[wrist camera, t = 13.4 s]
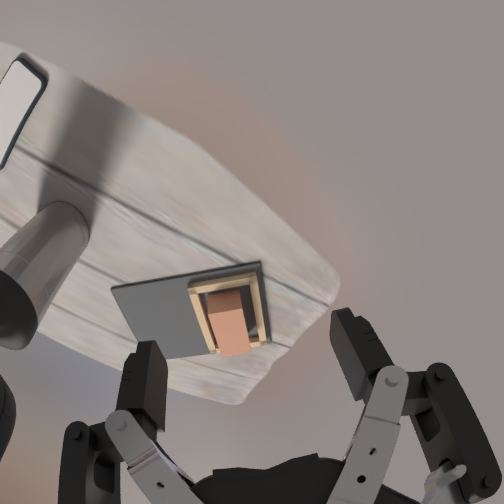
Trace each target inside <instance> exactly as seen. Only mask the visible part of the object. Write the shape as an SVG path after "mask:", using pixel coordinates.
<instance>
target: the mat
mask: <svg viewBox="0 0 504 504" xmlns="http://www.w3.org/2000/svg"><path fill="white" fill-rule="evenodd" d="M238 289H239V291H240V296H241V301H242V305H243V310H244V315H245V319H246V324H247V329H248V333H249V339H250V345H251V347H256V346H261V345H266V344H270V343H271V340H270V333H269V326H268V318H267V311H266V304H265V297H264V290H263V282H262V275H261V268H260V262H257V263H252V264H247V265H241V266H236V267H230V268H225V269H219V270H214V271H208V272H202V273H197V274H191V275H185V276H180V277H174V278H168V279H163V280H157V281H151V282H145V283H140V284H134V285H128V286H122V287H116V288H111V292H112V294H113V296H114V298H115V300H116V302H117V304H118V306H119V308H120V310H121V312H122V314H123V316H124V318H125V320H126V321H127V323H128V325H129V327H130V329H131V331H132V332H133V334H134V336H135V338H136V339H137V341H138V342H139V341H148V340H155V341H156V342H157V344H158V346H159V348H160V350H161V352H162V354H163V356H164V358H165V359H173V358H182V357H190V356H197V355H205V354H214V353H221V352H220V350H219V347H218V344H217V341H216V338H215V335H214V332H213V329H212V326H211V323H210V320H209V317H208V296H207V295H210V294H216V293H222V292H227V291H233V290H238Z"/></svg>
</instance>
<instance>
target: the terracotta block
mask: <svg viewBox="0 0 504 504" xmlns="http://www.w3.org/2000/svg"><path fill="white" fill-rule="evenodd" d="M207 296H208V317H209V320H210V323H211V326H212V329H213V332H214V335H215V338H216V341H217V344H218V347H219V350H220V352H221V355H222V357H224V356H231V355H237V354H242V353H248V352H252V351H251V345H250V339H249V333H248V329H247V324H246V319H245V315H244V310H243V305H242V301H241V296H240V291H239V289H238V290H233V291H227V292H222V293H216V294H210V295H207Z"/></svg>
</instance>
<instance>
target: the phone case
mask: <svg viewBox="0 0 504 504" xmlns="http://www.w3.org/2000/svg"><path fill="white" fill-rule="evenodd" d="M46 87H47V80H46V78H45V77H44V76H43V75H42V74H41V73H39V72H38V71H37V70H36V69H35V68H34V67H33V66H31V65H30V64H29V63H28V62H27V61H26V60H25V59H23V58H17V59H15V60H14V61H13V62H12V64H11V65H10V67H9V69H8V70H7V72H6V74H5V75H4V77H3V79H2V81H1V82H0V170H1V169H3V168H4V166H5V164H6V162H7V159H8V157H9V155H10V153H11V151H12V149H13V146H14V144H15V142H16V140H17V138H18V136H19V134H20V132H21V130H22V129H23V127H24V125H25V123H26V121H27V119H28V117H29V116H30V114H31V112H32V110H33V109H34V107H35V105H36V104H37V102H38V100H39V99H40V97H41V95H42V94H43V92H44V91H45V89H46Z"/></svg>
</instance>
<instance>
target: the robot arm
mask: <svg viewBox="0 0 504 504" xmlns="http://www.w3.org/2000/svg"><path fill="white" fill-rule="evenodd" d="M88 240H89V231H88V227H87V223H86V221H85V219H84V217H83V216H82V215H81V213H80V212H79V211H78V210H77V209H76V208H75V207H73V206H72V205H70V204H67V203H65V202H54V203H51V204H49V205H48V206H46V207H45V208H44V209H43V210H41V211H40V212H39V213H38V214H37V215H36V216H34V217H33V218H32V219H31V220H30V221H29V222H27V223H26V224H25V225H24V226H23V227H22V228H21V229H20V230H19V231H18V232H17V233H16V234H14V235H13V236H12V237H11V238H10V239H9V240H8V241H7V242H6V243H5V244H4V245H3V246H2V247H1V248H0V346H2V347H4V348H7V349H11V350H21V349H24V348H25V347H26V346H27V345H28V344H29V343H30V341H31V339H32V338H33V336H34V334H35V332H36V330H37V328H38V326H39V324H40V322H41V320H42V319H43V317H44V315H45V313H46V311H47V309H48V307H49V306H50V304H51V302H52V300H53V299H54V297H55V295H56V294H57V292H58V290H59V289H60V287H61V285H62V284H63V282H64V281H65V279H66V277H67V276H68V274H69V273H70V271H71V269H72V268H73V266H74V265H75V263H76V262H77V260H78V259H79V257H80V256H81V254H82V253H83V251H84V250H85V248H86V247H87V244H88ZM330 341H331V345H332V347H333V350H334V352H335V354H336V356H337V359H338V361H339V364H340V366H341V368H342V371H343V373H344V375H345V378H346V380H347V382H348V385H349V387H350V390H351V392H352V394H353V397H354V399H355V401H358V400H361V399H363V401H364V403H365V406H364V409H363V412H362V414H361V417H360V420H359V423H358V425H357V428H356V430H355V433H354V435H353V438H352V440H351V443H350V444H349V447H348V449H347V451H346V453H345V455H344V458H343V460H342V461H340V460H336V459H331V458H319V457H318V454H317V453H315V454H311V455H307V456H302V457H298V458H293V459H290V460H288V461H286V462H284V463H281V464H279V465H277V466H274V467H272V468H269V469H266V470H261V469H248V468H239V467H238V468H227V469H215V470H213V475H210V476H208V477H206V478H203V479H202V480H200V481H198V482H197V483H195V482H194V481H193V480H192V479H191V478H190V477H189V476H188V475H187V474H186V473H185V472H184V471H183V470H182V469H181V468H180V467H179V466H178V465H177V464H176V463H175V461H174V460H173V459H172V458H171V457H170V456H169V455H168V453H167V452H166V451H165V450H164V449H163V447H162V446H161V445H160V443H159V442H158V441H157V440H156V439H157V432H165V411H166V394H167V379H168V366H167V362H166V360H165V358H164V356H163V354H162V352H161V350H160V348H159V346H158V344H157V342H156V341H155V340H148V341H139V342H138V345H137V350H136V353H130V355H129V356H128V358H127V359H126V361H125V363H124V368H123V374H122V378H121V380H122V381H121V383H120V388H119V394H118V399H117V405H116V410H115V411H114V412H112V413H111V414H110V415H109V416H108V417H107V419H106V421H105V422H102V423H98V424H95V425H91V426H87V425H86V424H85V423H83V422H80V421H75V422H73V423H71V424H70V425H69V426H68V427H67V428H66V430H65V434H64V441H63V449H62V456H61V466H60V476H59V491H58V504H121V501H120V500H121V499H120V462H123V461H125V462H126V463H127V465H128V468H127V470H128V472H129V474H130V475H131V477H132V478H133V480H134V481H135V483H136V484H137V485H138V487H139V488H140V489H141V491H142V492H143V493H144V495H145V496H146V497H147V498H148V500H149V501H150V502H151V503H152V504H474V503H477V502H479V501H481V500H484V499H486V498H488V497H491V496H492V495H494V494H495V493H496V492H497V490H498V489H499V487H500V485H501V481H502V474H501V471H500V468H499V466H498V463H497V460H496V458H495V456H494V453H493V451H492V448H491V446H490V444H489V442H488V439H487V437H486V435H485V432H484V430H483V428H482V426H481V424H480V422H479V420H478V418H477V416H476V414H475V412H474V410H473V408H472V406H471V404H470V402H469V400H468V398H467V396H466V394H465V392H464V390H463V388H462V387H461V385H460V383H459V381H458V379H457V378H456V376H455V374H454V372H453V371H452V369H451V368H450V367H449V366H448V365H446V364H444V363H434V364H432V365H430V366H429V367H428V369H427V371H420V372H405V370H404V369H402V368H400V367H398V366H395V365H394V364H393V362H392V360H391V358H390V357H389V355H388V353H387V351H386V350H385V348H384V346H383V345H382V343H381V341H380V340H379V339H378V336H377V334H376V333H375V332H374V329H373V328H372V326H371V324H370V323H369V322H368V321H367V320H366V319H364V318H363V317H362V316H358V317H354V315H353V314H352V312H351V310H350V309H349V308H348V307H347V308H343V309H339V310H334V311H332V314H331V324H330ZM405 415H409V416H410V418H411V421H412V423H413V426H414V428H415V431H416V434H417V436H418V439H419V441H420V444H421V447H422V449H423V452H424V455H425V458H426V460H427V463H428V466H429V469H430V472H431V473H430V474H429V475H428V477H427V478H426V480H425V484H424V488H425V496H424V499H423V501H422V502H421V503H419V502H418V501H416V500H414V499H411V498H409V497H407V496H405V495H403V494H401V493H399V492H397V491H395V490H393V489H391V488H389V487H387V486H385V485H384V484H382V482H383V479H384V477H385V474H386V471H387V469H388V466H389V463H390V460H391V457H392V454H393V451H394V448H395V445H396V442H397V438H398V435H399V431H400V424H399V420H400V417H401V416H405ZM15 419H16V404H15V400H14V396H13V394H12V392H11V390H10V388H9V387H8V385H7V384H6V382H5V381H4V379H3V378H2V377H1V375H0V461H1V459H2V457H3V454H4V452H5V450H6V448H7V446H8V443H9V441H10V438H11V436H12V433H13V429H14V425H15Z"/></svg>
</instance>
